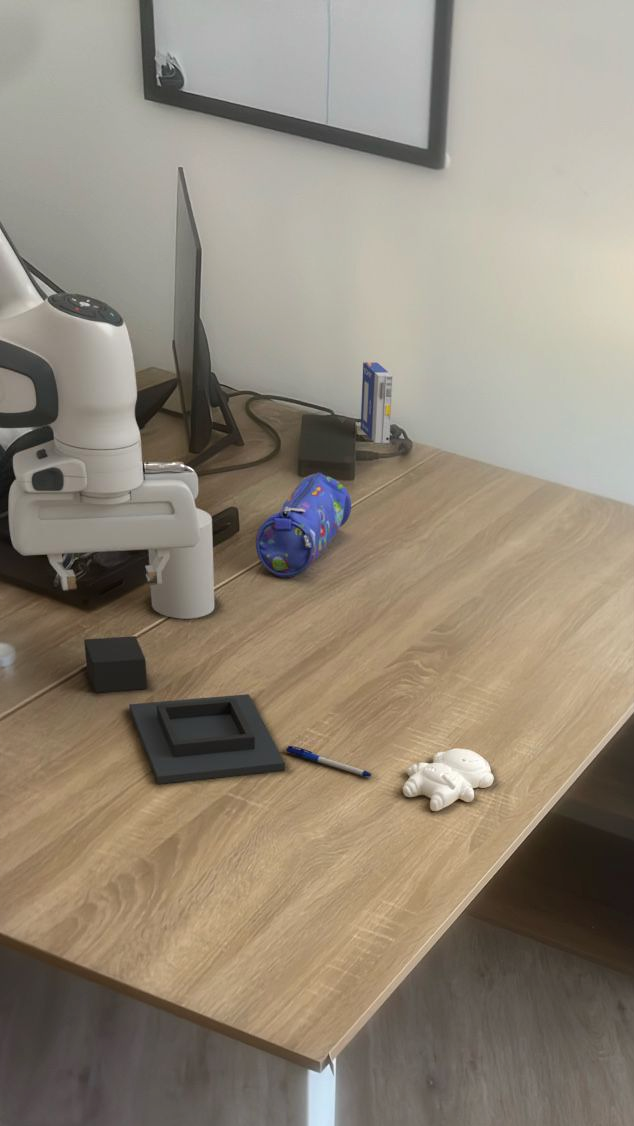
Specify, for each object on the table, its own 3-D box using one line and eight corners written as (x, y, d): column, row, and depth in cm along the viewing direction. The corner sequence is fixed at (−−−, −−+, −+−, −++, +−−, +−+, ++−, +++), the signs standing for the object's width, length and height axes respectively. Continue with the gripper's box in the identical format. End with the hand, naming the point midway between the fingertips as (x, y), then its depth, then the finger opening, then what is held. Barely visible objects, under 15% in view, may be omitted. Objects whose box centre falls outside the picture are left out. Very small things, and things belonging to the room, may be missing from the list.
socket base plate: (157, 784, 137) (156, 763, 136) (129, 711, 148) (128, 691, 146) (284, 770, 143) (285, 750, 141) (248, 701, 154) (248, 681, 152)
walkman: (360, 428, 236) (363, 360, 228) (374, 428, 237) (377, 360, 229) (375, 443, 231) (378, 374, 223) (389, 443, 232) (393, 373, 224)
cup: (196, 588, 175) (193, 502, 168) (225, 612, 171) (223, 524, 163) (141, 597, 171) (135, 509, 163) (169, 622, 166) (164, 533, 159)
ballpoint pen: (284, 754, 145) (284, 746, 145) (288, 750, 146) (288, 742, 145) (369, 779, 144) (369, 771, 143) (372, 775, 144) (372, 767, 144)
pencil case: (310, 587, 181) (311, 521, 174) (251, 575, 181) (250, 509, 175) (352, 532, 198) (354, 470, 192) (298, 522, 198) (299, 460, 192)
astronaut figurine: (384, 786, 143) (385, 763, 141) (453, 751, 151) (455, 729, 149) (442, 819, 140) (445, 796, 138) (510, 781, 148) (513, 759, 146)
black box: (95, 693, 150) (92, 662, 148) (86, 669, 154) (83, 639, 152) (147, 689, 153) (145, 658, 150) (137, 665, 157) (135, 635, 154)
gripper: (190, 451, 143) (197, 569, 152) (-3, 455, 136) (15, 579, 144) (203, 471, 139) (209, 591, 148) (4, 476, 131) (22, 603, 140)
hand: (112, 585), depth 146 cm, fingers open, 8 cm apart
